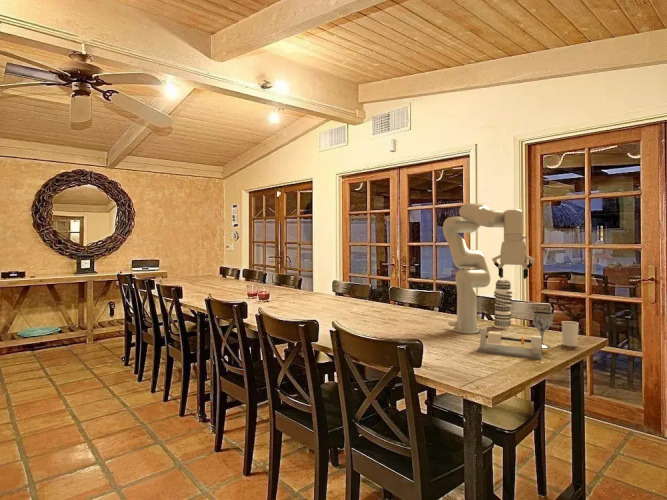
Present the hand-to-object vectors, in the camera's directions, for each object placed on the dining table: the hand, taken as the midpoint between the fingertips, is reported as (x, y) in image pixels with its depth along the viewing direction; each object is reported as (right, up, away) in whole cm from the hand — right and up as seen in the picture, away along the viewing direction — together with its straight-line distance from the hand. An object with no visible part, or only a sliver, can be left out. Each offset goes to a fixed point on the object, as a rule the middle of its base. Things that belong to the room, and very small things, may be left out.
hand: (513, 278), depth 187 cm
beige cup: (+28, -31, +7) cm, 42 cm away
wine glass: (+14, -31, +4) cm, 34 cm away
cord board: (-4, -31, -6) cm, 31 cm away
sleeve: (-9, -27, -3) cm, 29 cm away
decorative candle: (+13, -29, +44) cm, 55 cm away
